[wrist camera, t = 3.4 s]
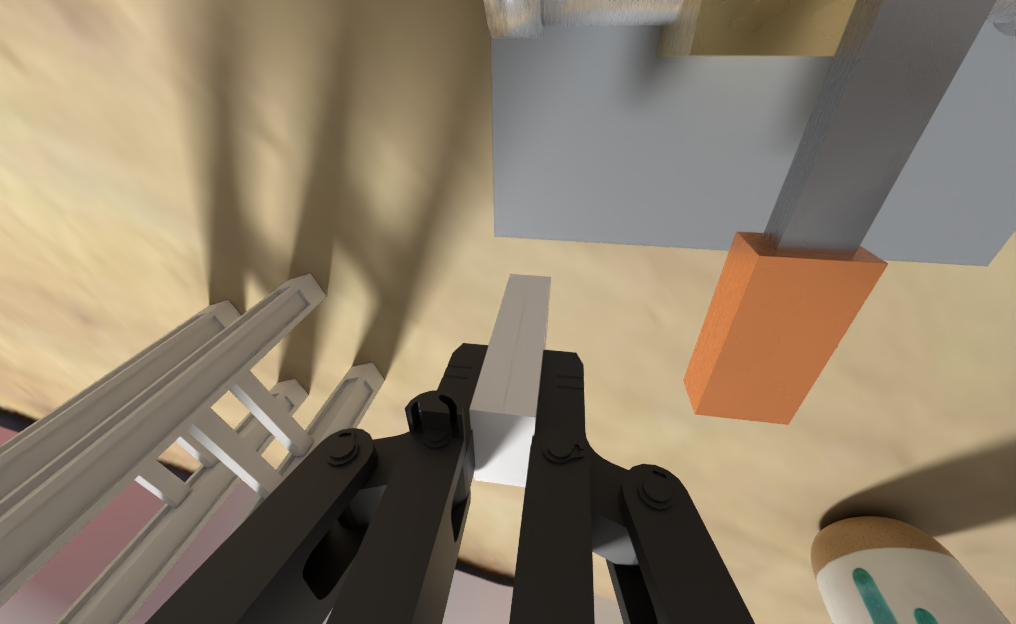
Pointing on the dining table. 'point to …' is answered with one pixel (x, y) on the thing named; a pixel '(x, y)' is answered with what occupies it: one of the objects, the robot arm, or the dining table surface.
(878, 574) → the vase
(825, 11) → the valve pipe
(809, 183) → the valve lever
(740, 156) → the valve board
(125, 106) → the dining table surface
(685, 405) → the dining table surface
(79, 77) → the dining table surface
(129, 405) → the stool
